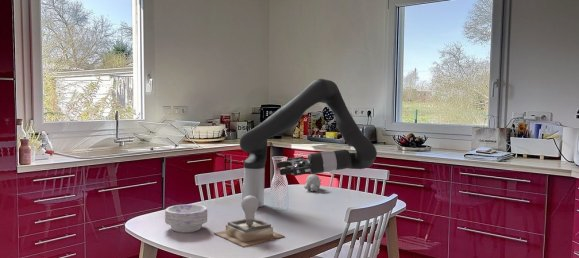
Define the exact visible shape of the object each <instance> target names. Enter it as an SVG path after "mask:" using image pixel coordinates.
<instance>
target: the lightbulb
mask: <svg viewBox="0 0 579 258" xmlns="http://www.w3.org/2000/svg"><path fill="white" fill-rule="evenodd" d="M240 204H241V208H242V210H243V212H244V217H245V218H244V219H246V224H247V225H248V226H251V225H253V221H254V218H255V216H256V212H257V210H258V209H259V207H258V206H259V202H258V200H257V198H256V197H254V196H251V195H249V196H246V197H245V198H244V199H243V200H242V199H241V203H240Z"/></svg>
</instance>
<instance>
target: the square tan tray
mask: <svg viewBox="0 0 579 258" xmlns="http://www.w3.org/2000/svg"><path fill="white" fill-rule="evenodd" d="M213 234H214V235H215V236H217V237H220V238H223V239H225V240H226V241H228V242H231V243H233V244H235V245H237V246H239V245H240V246H239V247H241V246H242V248H245V247H251V246H254V245H258V244H263V243H267V242H271V241H274V240H278V239H282V238H285V237H286V236H285V235H283V234H280V233H279V232H275V231H274V226H272V224H271V223H268V222H267V221H263V220H260V219H258V218H255V217H254V221H253V225H251V226H248V225H247V224H246V218H244V219H239V220H234V221H228V222H227V224H225V230H221V231H217V232H214V233H213Z"/></svg>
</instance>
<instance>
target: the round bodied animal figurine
mask: <svg viewBox="0 0 579 258" xmlns="http://www.w3.org/2000/svg"><path fill="white" fill-rule="evenodd" d="M305 182H306V183H305V184H304V187H303V188H304V189H305V190H307V191H313V192H318V190H319V189H320V188H321V183H322V179H320V177H319V176H318V175H317V174H311V173H310V174H308V175H307V177H306V178H305Z"/></svg>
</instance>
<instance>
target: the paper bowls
mask: <svg viewBox="0 0 579 258" xmlns="http://www.w3.org/2000/svg"><path fill="white" fill-rule="evenodd" d="M208 211H209V210H208V207H207V206H204V205H201V204H192V203H188V204H187V203H186V204H176V205H172V206H168V207H166V208H165V210H164V212H165V213H164V221H165V224H167V225H168V226H169V225H170V228H171V229H172V230H173V231H174V232H177V233H194V232H197V231H199V230H200V229H202V226H203V225H204V224H206V223H207V222H208V213H209V212H208Z"/></svg>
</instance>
